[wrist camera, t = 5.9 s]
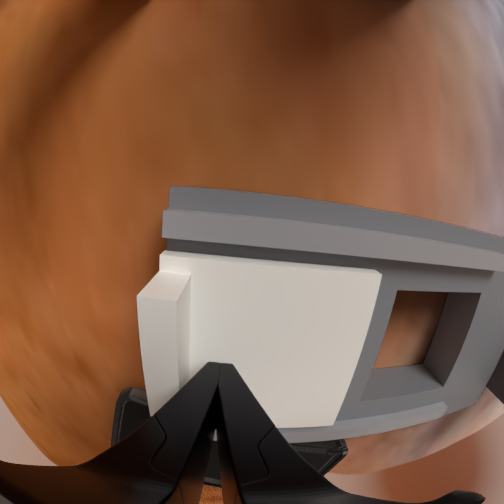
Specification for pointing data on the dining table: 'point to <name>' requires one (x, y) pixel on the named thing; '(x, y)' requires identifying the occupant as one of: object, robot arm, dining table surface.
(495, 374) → the plug
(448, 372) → the socket plate
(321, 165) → the dining table surface
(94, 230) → the dining table surface
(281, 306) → the shutter
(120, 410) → the phone
